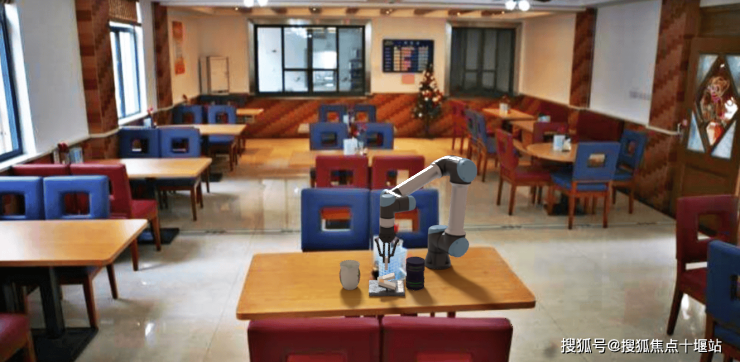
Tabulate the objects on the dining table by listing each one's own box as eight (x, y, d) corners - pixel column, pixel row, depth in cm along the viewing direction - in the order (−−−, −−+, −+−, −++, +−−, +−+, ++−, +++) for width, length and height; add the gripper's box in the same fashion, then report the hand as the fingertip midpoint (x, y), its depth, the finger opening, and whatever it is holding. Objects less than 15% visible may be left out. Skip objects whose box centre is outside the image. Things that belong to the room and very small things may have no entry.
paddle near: (394, 286, 293) (395, 283, 293) (394, 289, 289) (395, 286, 289) (377, 280, 293) (378, 277, 292) (377, 284, 288) (378, 281, 288)
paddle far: (394, 275, 300) (393, 272, 300) (395, 278, 296) (394, 275, 295) (378, 279, 301) (377, 276, 300) (378, 283, 296) (377, 280, 296)
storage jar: (409, 291, 294) (409, 264, 290) (402, 283, 303) (403, 257, 299) (427, 289, 296) (427, 262, 292) (420, 281, 305) (421, 255, 302)
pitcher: (360, 279, 308) (360, 255, 305) (360, 293, 291) (360, 268, 288) (340, 279, 308) (339, 255, 305) (338, 293, 291) (338, 268, 288)
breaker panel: (403, 283, 303) (403, 277, 302) (404, 296, 288) (404, 289, 287) (369, 283, 303) (369, 277, 302) (368, 296, 288) (368, 289, 288)
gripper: (399, 223, 291) (398, 266, 296) (374, 222, 291) (373, 266, 296) (400, 227, 283) (399, 272, 289) (374, 227, 283) (373, 271, 289)
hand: (386, 269), depth 293 cm, fingers closed
